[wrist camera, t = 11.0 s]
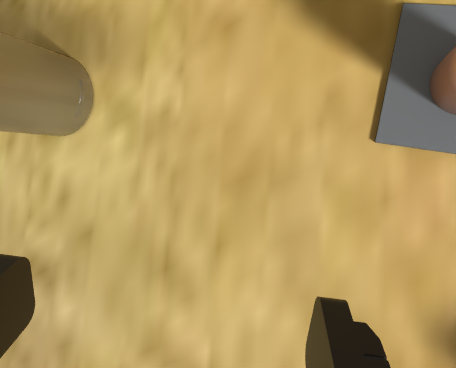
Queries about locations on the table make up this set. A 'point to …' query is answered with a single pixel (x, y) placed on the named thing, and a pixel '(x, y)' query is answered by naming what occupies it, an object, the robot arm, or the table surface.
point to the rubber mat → (418, 81)
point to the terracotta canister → (445, 83)
